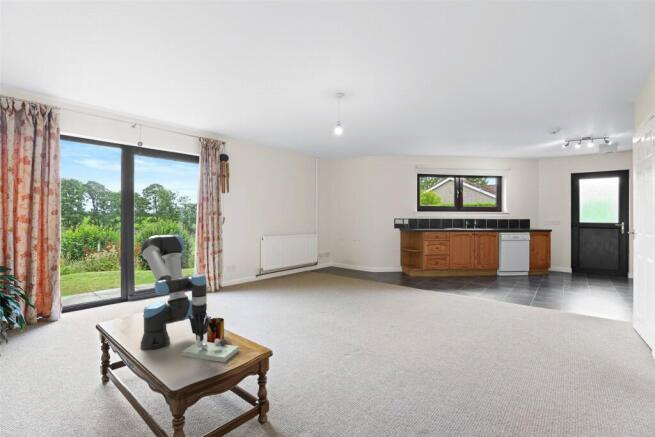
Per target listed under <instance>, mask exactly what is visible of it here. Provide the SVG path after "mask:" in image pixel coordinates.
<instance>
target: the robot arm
mask: <svg viewBox="0 0 655 437" xmlns="http://www.w3.org/2000/svg"><path fill="white" fill-rule="evenodd" d="M184 250H185V243H184V240H183V238H182V236H181V235H179V234H163V235H152V236H150V237H148V238H146V239H145V240H144V242H143V243H141V247H140V254H141V255H142V257H143V259H145V260H146V262H147V264H148V266H149V268H150V271H151V273H152V274H153V277H154V278H155V281H156V282H155V283H154V290H155V294H156V295H158V296H163V295H164V296H165V295H168V296H169V299H168V300H167V302H165V301H160V302H159V301H158V302H153V303H151V304H148V305H147V306H144V307H145V308H144V309H143V314H142V315H143V316H142V317H143V334H142V337H141V340H140V348H141V349H142V350H151V351H152V350H158V349H160V348H164V347H166V346H168V345H169V344H170V342H171V339H170V338H171V337H170V336H169V332H168V330H167V325H169V324H174V323H178V322H183V321H186V320H189V324H190V328H191V331H192V334H193V335H194V334H195V341H196V342H197V347H198V348H200V347H201V346H202V345H203V342H204V339H205V338H204V336H205V335H207V330H208V325H209V320H210V319H212V317H211V316H209V315H208V313H207V310H208V309H207V308H208V304H207V301H208V299H207V298H208V296H207V295H208V294H207V283H208V281H207V275H206V274H194V275H186V276H184V277H183V271H182V264H181V258H180V257H181V256H182V254H183V252H184ZM186 291H191V299H189V296H188V295H186V293H185V292H186Z"/></svg>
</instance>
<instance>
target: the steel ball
mask: <svg viewBox="0 0 655 437" xmlns="http://www.w3.org/2000/svg"><path fill="white" fill-rule="evenodd" d="M207 347H208V346H207V344H203V345H202V346H201V348H202V350H206V349H207Z"/></svg>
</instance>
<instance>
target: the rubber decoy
mask: <svg viewBox="0 0 655 437" xmlns="http://www.w3.org/2000/svg"><path fill="white" fill-rule="evenodd" d="M219 344H221V345H222V346H224V345H227V340H226V339H224V340H221V341H220V343H219Z"/></svg>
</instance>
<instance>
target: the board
mask: <svg viewBox="0 0 655 437" xmlns="http://www.w3.org/2000/svg"><path fill="white" fill-rule="evenodd" d="M203 344H207V346H208V347H207V349H206V350H202V348H201V347H200V348H198V347H197V341H196V342H195V343H193V344H191V345H190V346H188V347H187V348H185V349H183V350H182V351H181V356H182V357H189V358H195V359H201V360H206V361H213V362H214V361H215V362H220V363H225V362H226V361H228V360H229V359H230V358H232V357H233V356H235V355H236V354H237V353H238V352H239V351H240V347H239V346H238V345H233V344H232V345H230V344H225V345H224V346H222V345H221V344H220V343H219V344H218V345H216V344H215V343H210V342H207V341H203Z"/></svg>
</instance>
